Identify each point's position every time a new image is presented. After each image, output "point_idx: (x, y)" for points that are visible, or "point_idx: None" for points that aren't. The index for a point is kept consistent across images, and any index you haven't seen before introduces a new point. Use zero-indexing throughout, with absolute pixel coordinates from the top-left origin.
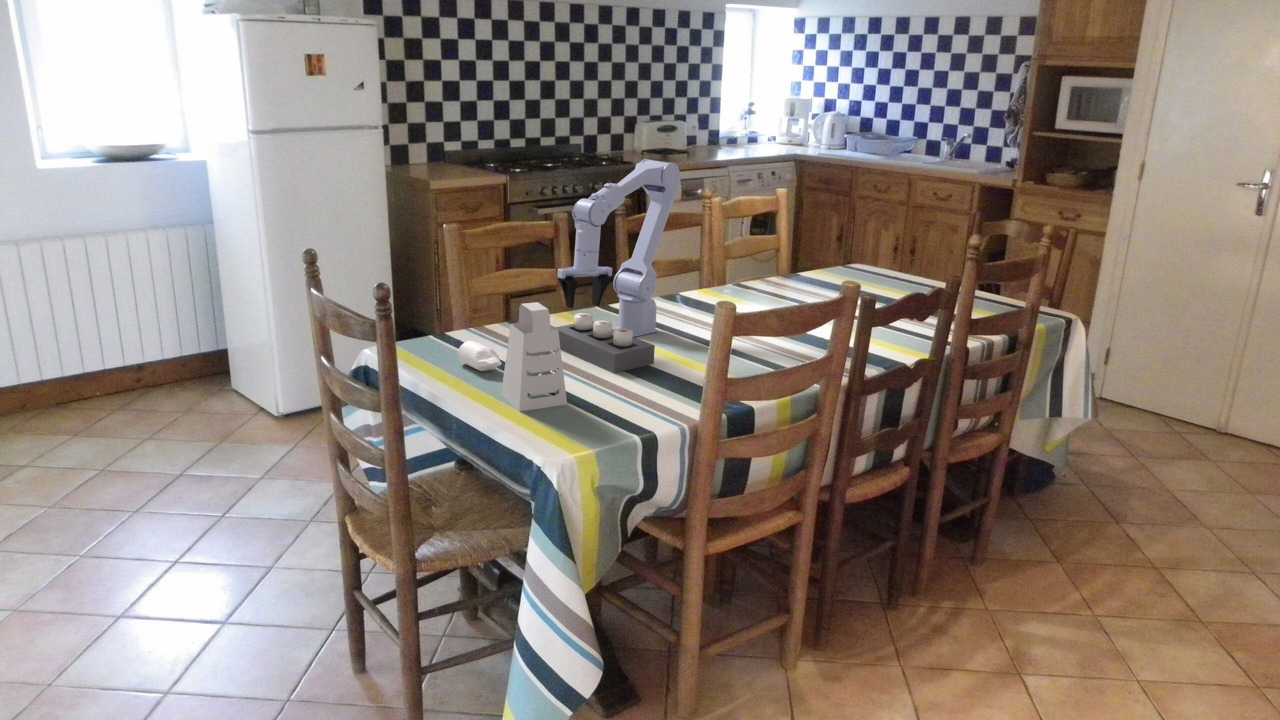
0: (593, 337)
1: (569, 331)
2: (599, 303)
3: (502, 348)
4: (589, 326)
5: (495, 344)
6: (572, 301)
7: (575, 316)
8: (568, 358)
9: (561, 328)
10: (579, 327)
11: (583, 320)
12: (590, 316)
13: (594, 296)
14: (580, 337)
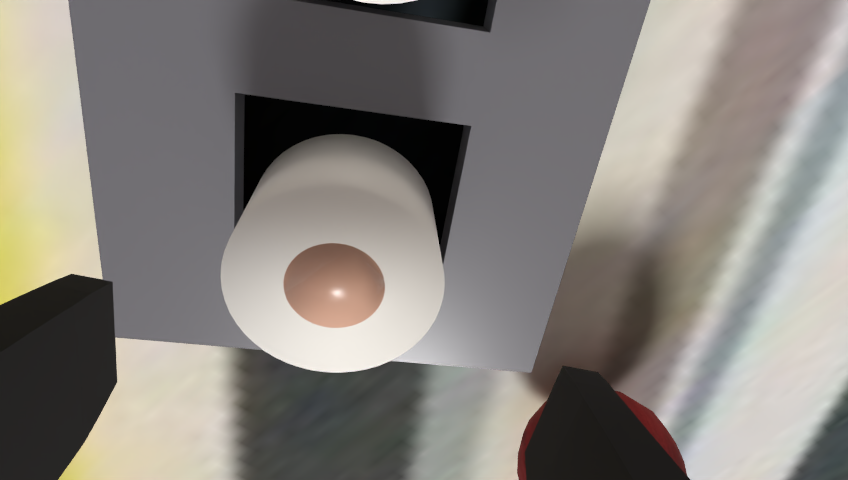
0: (390, 12)
1: (508, 230)
2: (45, 289)
3: (726, 407)
4: (340, 145)
5: (690, 462)
6: (634, 436)
7: (436, 313)
8: (655, 18)
9: (488, 326)
10: (430, 201)
11: (411, 203)
12: (288, 212)
13: (27, 461)
14: (591, 23)
